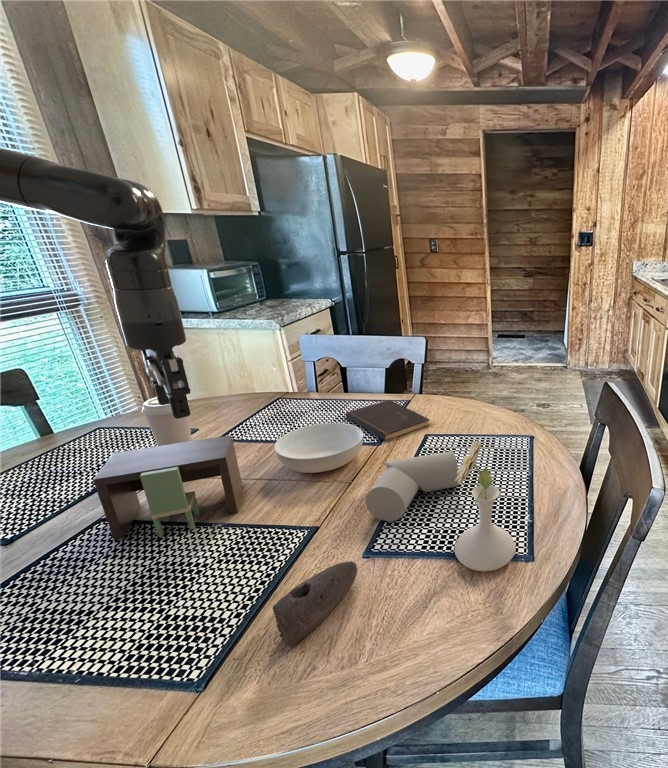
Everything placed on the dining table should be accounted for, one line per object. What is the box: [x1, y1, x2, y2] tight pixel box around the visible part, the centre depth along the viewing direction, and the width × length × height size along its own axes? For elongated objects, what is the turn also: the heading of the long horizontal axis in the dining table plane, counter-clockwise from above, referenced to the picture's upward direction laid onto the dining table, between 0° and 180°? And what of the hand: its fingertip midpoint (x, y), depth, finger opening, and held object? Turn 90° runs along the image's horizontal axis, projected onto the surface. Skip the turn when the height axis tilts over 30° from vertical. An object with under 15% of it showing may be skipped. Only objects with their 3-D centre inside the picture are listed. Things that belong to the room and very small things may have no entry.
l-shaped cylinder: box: [365, 450, 460, 522], centre depth 94 cm, size 18×11×20 cm
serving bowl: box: [273, 422, 364, 474], centre depth 107 cm, size 21×21×7 cm
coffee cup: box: [141, 396, 193, 446], centre depth 108 cm, size 10×10×15 cm
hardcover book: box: [346, 399, 431, 442], centre depth 133 cm, size 16×23×2 cm
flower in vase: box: [454, 440, 516, 572], centre depth 74 cm, size 13×11×25 cm
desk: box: [92, 435, 243, 541], centre depth 86 cm, size 11×20×14 cm, turn 117°
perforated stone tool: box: [272, 561, 358, 648], centre depth 64 cm, size 15×5×7 cm, turn 152°
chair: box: [140, 467, 200, 538], centre depth 81 cm, size 6×6×14 cm
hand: (174, 410), depth 71 cm, fingers open, 8 cm apart
